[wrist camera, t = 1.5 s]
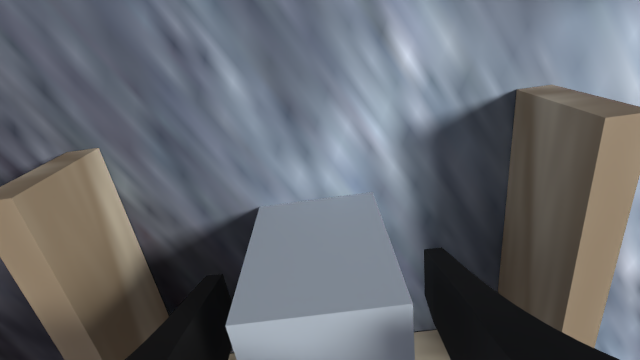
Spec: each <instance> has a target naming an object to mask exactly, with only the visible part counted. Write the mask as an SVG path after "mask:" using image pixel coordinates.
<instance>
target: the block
mask: <svg viewBox="0 0 640 360" xmlns="http://www.w3.org/2000/svg"><path fill="white" fill-rule="evenodd" d="M225 327H226V330H227V333H228V336H229V338H230V341H231V344H232V347H233V350H234V353H235V356H236V359H237V360H415V349H414V321H413V303H412V300H411V297H410V294H409V292H408V289H407V286H406V283H405V280H404V278H403V275H402V272H401V269H400V267H399V264H398V261H397V258H396V255H395V253H394V250H393V247H392V244H391V242H390V239H389V236H388V233H387V230H386V228H385V225H384V222H383V219H382V217H381V214H380V211H379V208H378V205H377V203H376V200H375V197H374V194H373V192H369V193H361V194H354V195H346V196H338V197H331V198H323V199H315V200H308V201H300V202H293V203H285V204H277V205H270V206H262V207H259V211H258V214H257V218H256V221H255V225H254V228H253V231H252V235H251V238H250V242H249V245H248V249H247V252H246V256H245V259H244V263H243V266H242V270H241V273H240V277H239V280H238V284H237V287H236V291H235V294H234V297H233V301H232V304H231V308H230V311H229V315H228V318H227V322H226V325H225Z"/></svg>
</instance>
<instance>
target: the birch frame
mask: <svg viewBox="0 0 640 360" xmlns="http://www.w3.org/2000/svg"><path fill="white" fill-rule="evenodd" d="M639 175H640V107H638V106H634V105H630V104H626V103H623V102H619V101H615V100H611V99H607V98H603V97H599V96H595V95H591V94H587V93H583V92H579V91H575V90H571V89H567V88H563V87H559V86H555V85H546V86H539V87H532V88H525V89H518V90H517V93H516V104H515V114H514V125H513V135H512V146H511V157H510V167H509V178H508V189H507V199H506V210H505V220H504V231H503V242H502V252H501V263H500V274H499V284H498V293H499V294H500V295H502V296H503V297H505V298H506V299H508V300H509V301H510V302H512V303H513V304H515V305H516V306H518V307H520V308H521V309H523V310H524V311H526V312H528V313H529V314H531V315H533V316H534V317H536V318H538V319H539V320H541V321H543V322H544V323H546V324H548V325H550V326H551V327H553V328H555V329H557V330H559V331H561V332H563V333H565V334H566V335H568V336H570V337H572V338H574V339H576V340H578V341H580V342H582V343H584V344H586V345H588V346H590V347H592V348H594V347H595V343H596V339H597V335H598V332H599V328H600V324H601V320H602V316H603V313H604V309H605V305H606V301H607V297H608V293H609V290H610V286H611V282H612V278H613V274H614V271H615V267H616V263H617V259H618V255H619V252H620V248H621V244H622V240H623V236H624V232H625V229H626V225H627V221H628V217H629V213H630V210H631V206H632V202H633V198H634V194H635V190H636V187H637V183H638V179H639ZM0 257H1V259H2V260H3V262H4V264H5V265H6V267H7V268H8V270H9V272H10V273H11V275H12V276H13V278H14V280H15V281H16V283H17V284H18V286H19V288H20V289H21V291H22V292H23V294H24V296H25V297H26V299H27V300H28V302H29V304H30V305H31V307H32V308H33V310H34V312H35V313H36V315H37V316H38V318H39V320H40V321H41V323H42V324H43V326H44V328H45V329H46V331H47V332H48V334H49V336H50V337H51V339H52V340H53V342H54V344H55V345H56V347H57V348H58V350H59V352H60V353H61V355H62V356H63V358H64V360H125V359H126V358H127V357H128V356H129V355H130V354H132V353H133V352H134V351H135V350H136V349H137V348H138V347H139V346H140V345H141V344H142V343H144V342H145V341H146V340H147V339H148V338H149V337H150V336H151V335H152V334H153V333H154V332H155V331H156V330H157V329H158V328H159V327H160V326H161V325H162V324H163V323H164V322H165V321H166V319H167V318H168V317H169V315H168V313H167V310H166V308H165V305H164V303H163V301H162V298H161V296H160V294H159V291H158V289H157V286H156V284H155V282H154V279H153V277H152V274H151V272H150V270H149V267H148V265H147V262H146V260H145V258H144V255H143V253H142V251H141V248H140V246H139V243H138V241H137V239H136V236H135V234H134V231H133V229H132V227H131V224H130V222H129V219H128V217H127V215H126V212H125V210H124V208H123V205H122V203H121V200H120V198H119V196H118V193H117V191H116V188H115V186H114V184H113V181H112V179H111V176H110V174H109V172H108V169H107V167H106V164H105V162H104V160H103V157H102V155H101V153H100V150H99V148H94V149H87V150H80V151H73V152H66V153H65V154H63V155H61V156H59V157H57V158H55V159H53V160H51V161H49V162H47V163H45V164H43V165H41V166H40V167H38V168H36V169H34V170H32V171H30V172H28V173H26V174H24V175H22V176H20V177H18V178H17V179H15V180H13V181H11V182H9V183H7V184H5V185H3V186H1V187H0ZM414 349H415V360H451V359H450V357H449V355H448V352H447V350H446V348H445V346H444V344H443V342H442V339H441V337H440V335H439V333H438V331H437V330H431V331H422V332H414ZM228 360H237V359H236V356H235V353H231V354H230V355H229V359H228Z"/></svg>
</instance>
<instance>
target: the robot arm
mask: <svg viewBox="0 0 640 360" xmlns="http://www.w3.org/2000/svg"><path fill="white" fill-rule="evenodd" d="M424 273H425V297H426V300H427V303H428V306H429V310H430V313H431V316H432V319H433V322H434V324H435V326H436V328H437V331H438V333H439V335H440V337H441V339H442V342H443V344H444V346H445V348H446V350H447V352H448V355H449V357H450V359H451V360H619V359H617V358H615V357H612V356H610V355H608V354H606V353H603V352H601V351H599V350H597V349H595V348H592V347H590V346H588V345H586V344H584V343H582V342H580V341H578V340H576V339H574V338H572V337H570V336H568V335H566V334H565V333H563V332H561V331H559V330H557V329H555V328H553V327H551V326H550V325H548V324H546V323H544V322H543V321H541V320H539V319H538V318H536V317H534V316H533V315H531V314H529V313H528V312H526V311H524V310H523V309H521V308H520V307H518V306H516V305H515V304H513V303H512V302H510V301H509V300H508V299H506V298H505V297H503V296H502V295H500V294H499V293H498V292H496V291H495V290H493V289H492V288H491V287H489V286H488V285H487V284H486V283H484V282H483V281H482V280H480V279H479V278H478V277H477V276H475V275H474V274H473V273H472V272H470V271H469V270H468V269H467V268H466V267H464V266H463V265H462V264H461V263H460V262H458V261H457V260H456V259H455V258H454V257H453V256H451V255H450V254H449V253H448V252H447V251H445V250H444V249H443V248H442V247H441V248H433V249H425V250H424ZM231 304H232V302H231V299H230V296H229V292H228V289H227V286H226V283H225V280H224V277H223V274H221V275H212V276H206V277H205V278H204V279H203V280H202V281H201V282H200V283H199V284H198V286H197V287H196V288H195V289H194V290H193V291H192V292H191V293H190V294H189V296H188V297H187V298H186V299H185V300H184V301H183V302H182V303H181V304H180V305H179V307H178V308H177V309H176V310H175V311H174V312H173V313H172V314H171V315H170V316H169V317H168V318H167V319H166V321H165V322H164V323H163V324H162V325H161V326H160V327H159V328H158V329H157V330H156V331H155V332H154V333H153V334H152V335H151V336H150V337H149V338H148V339H147V340H146V341H145V342H144V343H142V344H141V345H140V346H139V347H138V348H137V349H136V350H135V351H134V352H133V353H132V354H130V355H129V356H128V357H127V358H126V359H125V360H228V359H229V355H230V351H231V347H232V344H231V341H230V338H229V336H228V333H227V330H226V327H225V325H226V322H227V318H228V315H229V311H230V308H231Z"/></svg>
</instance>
